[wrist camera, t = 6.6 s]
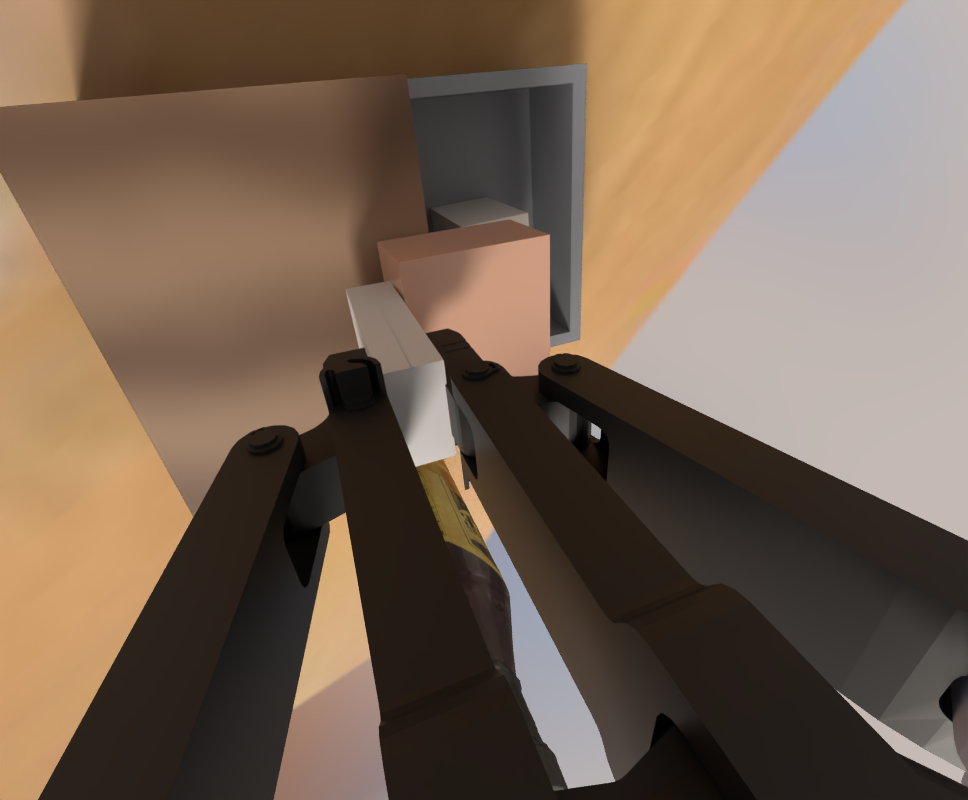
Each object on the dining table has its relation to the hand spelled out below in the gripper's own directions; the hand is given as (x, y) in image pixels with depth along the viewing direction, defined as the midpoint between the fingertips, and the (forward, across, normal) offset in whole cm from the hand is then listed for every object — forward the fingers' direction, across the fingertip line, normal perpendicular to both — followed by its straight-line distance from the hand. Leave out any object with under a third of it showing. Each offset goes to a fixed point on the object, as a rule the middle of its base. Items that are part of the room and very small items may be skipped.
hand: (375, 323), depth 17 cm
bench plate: (+9, -3, 0) cm, 10 cm away
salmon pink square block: (+1, +3, 0) cm, 3 cm away
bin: (+9, +5, +1) cm, 10 cm away
